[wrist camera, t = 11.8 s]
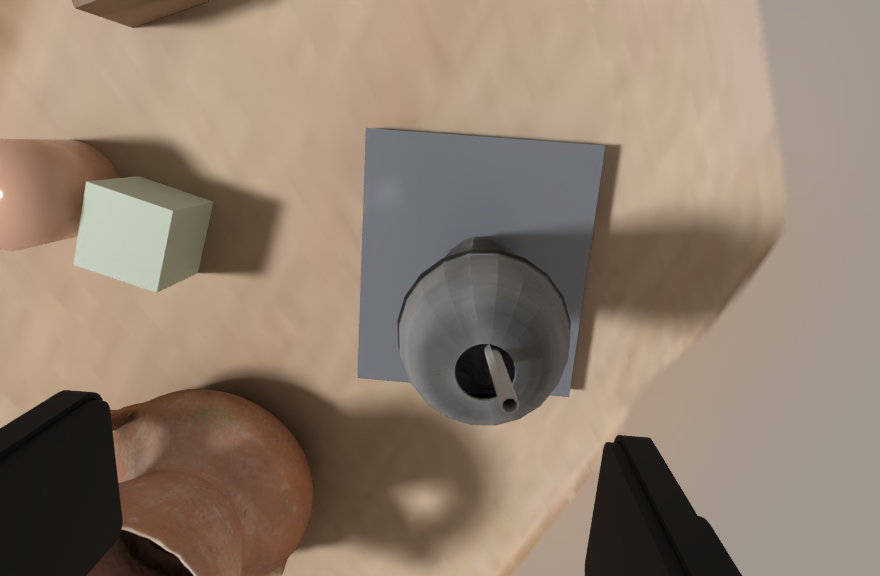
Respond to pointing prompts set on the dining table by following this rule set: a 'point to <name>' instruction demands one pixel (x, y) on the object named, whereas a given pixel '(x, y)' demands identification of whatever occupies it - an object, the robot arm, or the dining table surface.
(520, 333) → the beverage cup
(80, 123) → the dining table surface
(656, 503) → the robot arm
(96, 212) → the sage block
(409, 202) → the slate board
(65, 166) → the peach rounded capsule
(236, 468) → the ceramic jug
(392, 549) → the dining table surface
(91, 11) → the walnut block
